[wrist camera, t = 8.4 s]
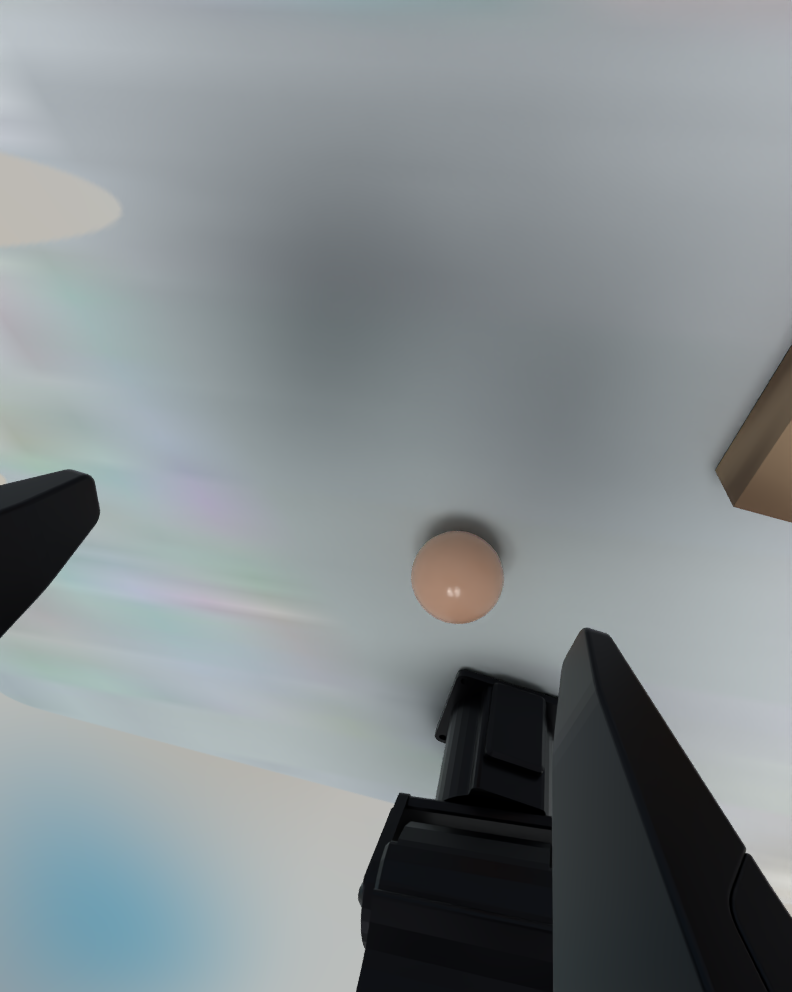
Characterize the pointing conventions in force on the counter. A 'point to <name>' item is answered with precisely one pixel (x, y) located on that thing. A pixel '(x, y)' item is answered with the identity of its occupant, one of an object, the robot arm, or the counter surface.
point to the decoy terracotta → (457, 577)
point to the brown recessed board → (764, 452)
